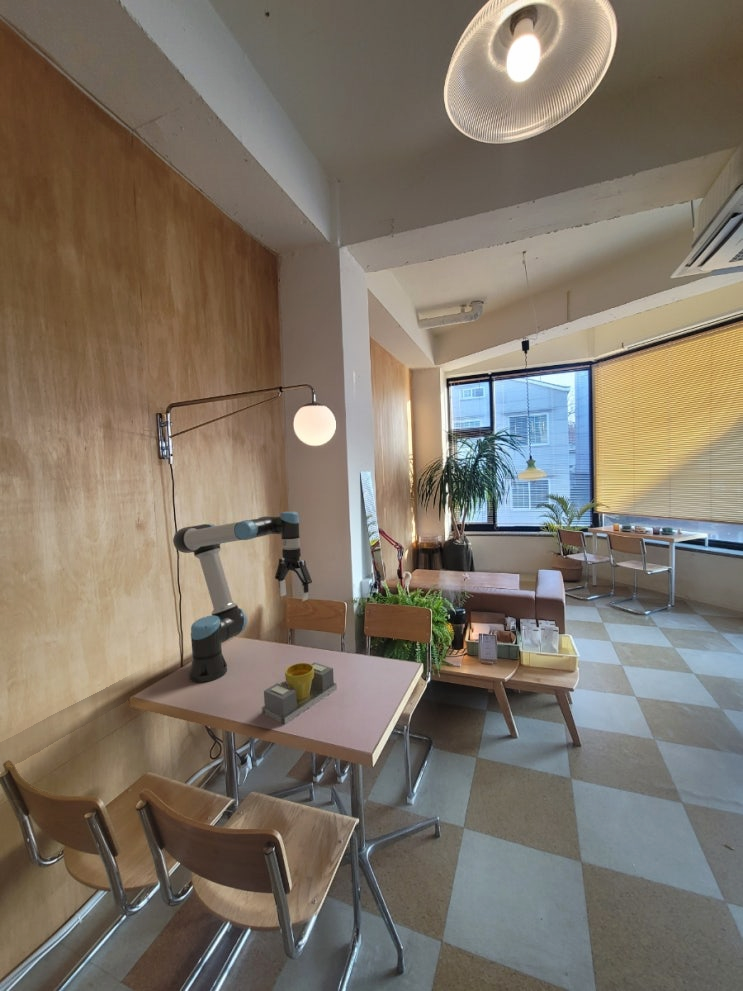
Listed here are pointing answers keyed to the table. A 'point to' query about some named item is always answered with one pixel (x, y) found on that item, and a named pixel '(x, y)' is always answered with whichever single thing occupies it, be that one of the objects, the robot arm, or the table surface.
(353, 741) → the table surface
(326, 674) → the block
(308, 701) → the rail
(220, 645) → the robot arm
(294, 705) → the module near
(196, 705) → the table surface
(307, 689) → the plant pot
